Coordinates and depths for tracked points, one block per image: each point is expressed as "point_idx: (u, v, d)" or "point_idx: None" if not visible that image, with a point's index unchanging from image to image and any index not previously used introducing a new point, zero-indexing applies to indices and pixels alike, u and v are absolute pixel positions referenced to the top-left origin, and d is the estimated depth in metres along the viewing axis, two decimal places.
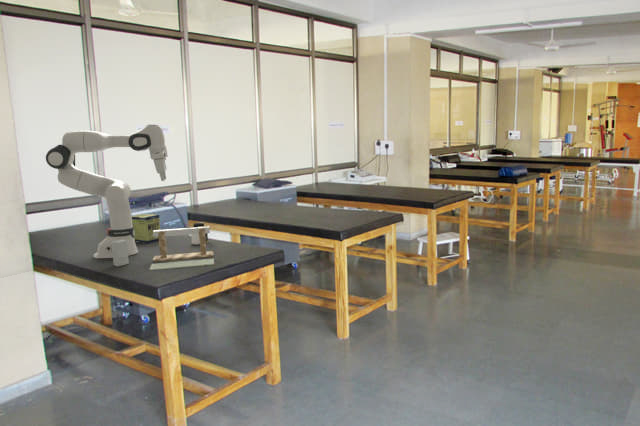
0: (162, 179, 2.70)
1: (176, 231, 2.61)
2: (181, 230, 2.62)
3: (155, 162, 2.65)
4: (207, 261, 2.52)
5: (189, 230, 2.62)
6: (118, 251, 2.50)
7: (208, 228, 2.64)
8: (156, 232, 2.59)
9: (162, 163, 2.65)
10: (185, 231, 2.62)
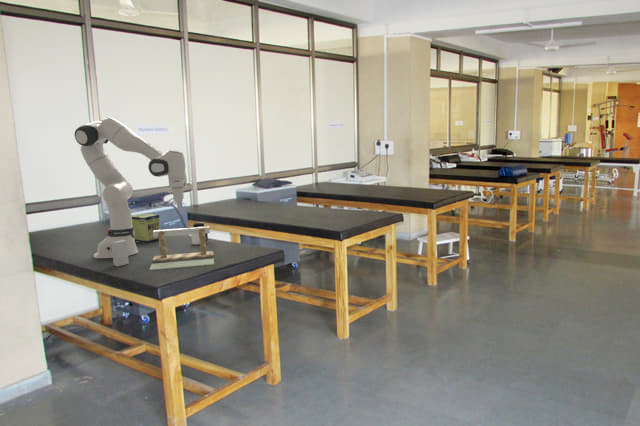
0: (179, 209, 2.56)
1: (176, 231, 2.61)
2: (181, 230, 2.62)
3: (174, 191, 2.50)
4: (207, 261, 2.52)
5: (189, 230, 2.62)
6: (118, 251, 2.50)
7: (208, 228, 2.64)
8: (156, 232, 2.59)
9: (181, 193, 2.51)
10: (185, 231, 2.62)
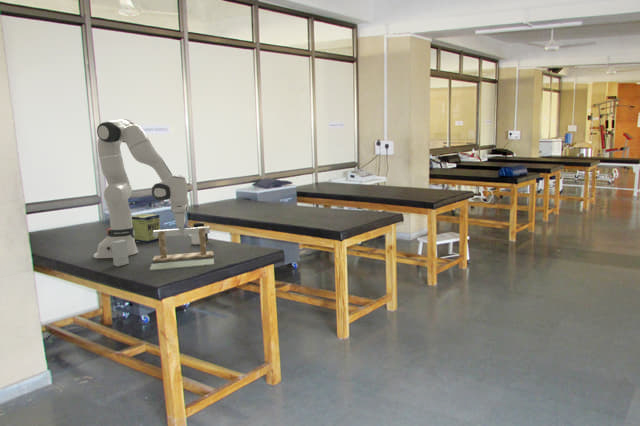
0: (181, 232, 2.60)
1: (176, 231, 2.61)
2: None
3: (176, 216, 2.52)
4: (207, 261, 2.52)
5: (189, 230, 2.62)
6: (118, 251, 2.50)
7: (208, 228, 2.64)
8: (156, 232, 2.59)
9: (183, 218, 2.53)
10: (185, 231, 2.62)
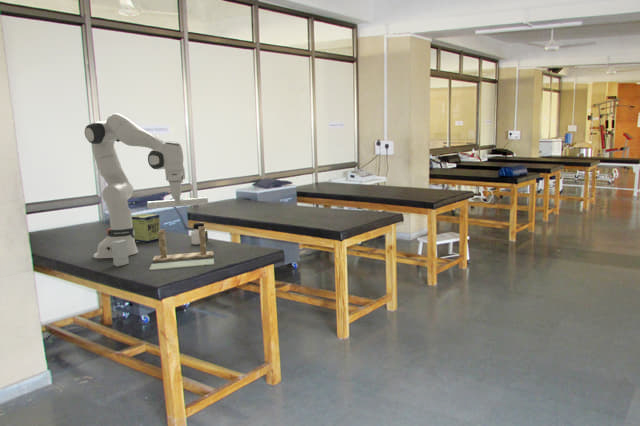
0: (177, 203, 2.43)
1: (172, 202, 2.43)
2: None
3: (171, 185, 2.35)
4: (207, 261, 2.52)
5: (186, 201, 2.45)
6: (118, 251, 2.50)
7: (206, 199, 2.47)
8: (150, 203, 2.41)
9: (179, 187, 2.35)
10: (181, 202, 2.44)
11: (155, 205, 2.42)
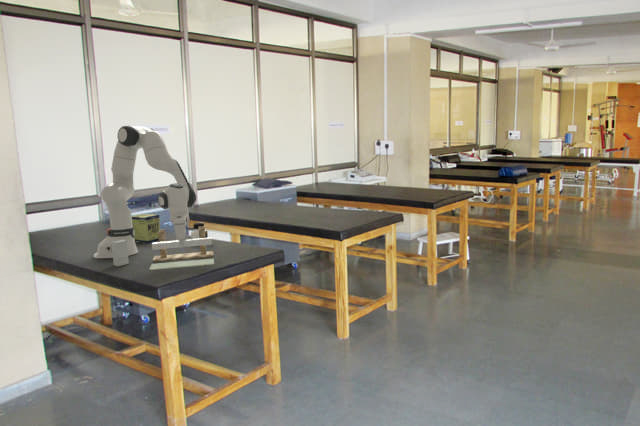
0: (181, 245, 2.46)
1: (176, 243, 2.46)
2: None
3: (176, 228, 2.37)
4: (207, 261, 2.52)
5: (190, 242, 2.48)
6: (118, 251, 2.50)
7: (210, 239, 2.50)
8: (155, 244, 2.44)
9: (183, 229, 2.38)
10: (186, 243, 2.47)
11: (159, 246, 2.45)
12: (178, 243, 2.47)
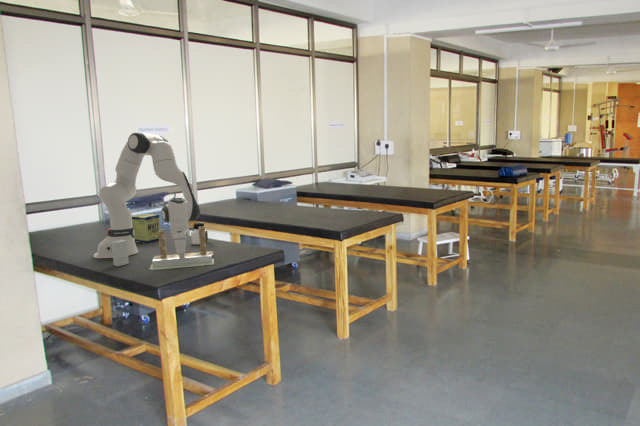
0: (181, 260, 2.45)
1: (176, 260, 2.48)
2: None
3: (176, 243, 2.38)
4: None
5: (190, 259, 2.49)
6: (118, 251, 2.50)
7: (210, 257, 2.51)
8: (155, 262, 2.45)
9: (183, 244, 2.39)
10: (186, 260, 2.49)
11: (159, 263, 2.46)
12: (178, 260, 2.48)
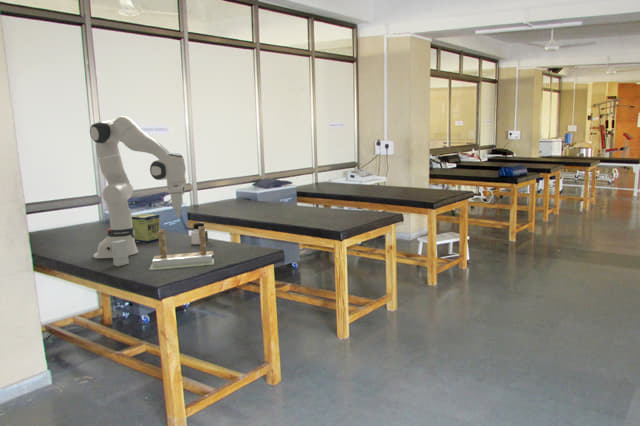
0: (177, 215, 2.42)
1: (176, 260, 2.48)
2: (182, 259, 2.48)
3: (172, 196, 2.36)
4: None
5: (190, 259, 2.49)
6: (118, 251, 2.50)
7: (210, 257, 2.51)
8: (155, 262, 2.45)
9: (180, 198, 2.37)
10: (186, 260, 2.49)
11: (159, 263, 2.46)
12: (178, 260, 2.48)
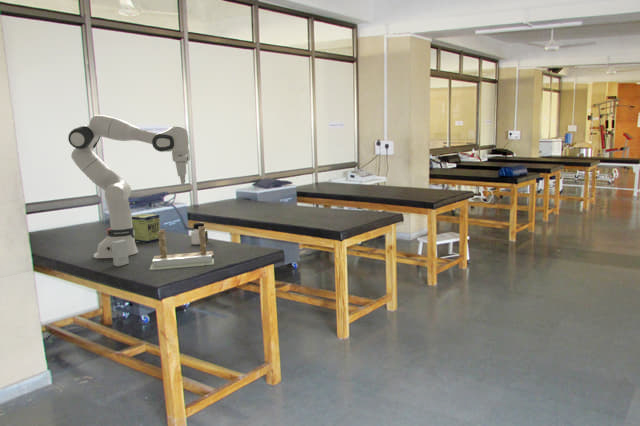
0: (182, 183, 2.66)
1: (176, 260, 2.48)
2: (182, 259, 2.48)
3: (177, 165, 2.60)
4: None
5: (190, 259, 2.49)
6: (118, 251, 2.50)
7: (210, 257, 2.51)
8: (155, 262, 2.45)
9: (184, 166, 2.61)
10: (186, 260, 2.49)
11: (159, 263, 2.46)
12: (178, 260, 2.48)
